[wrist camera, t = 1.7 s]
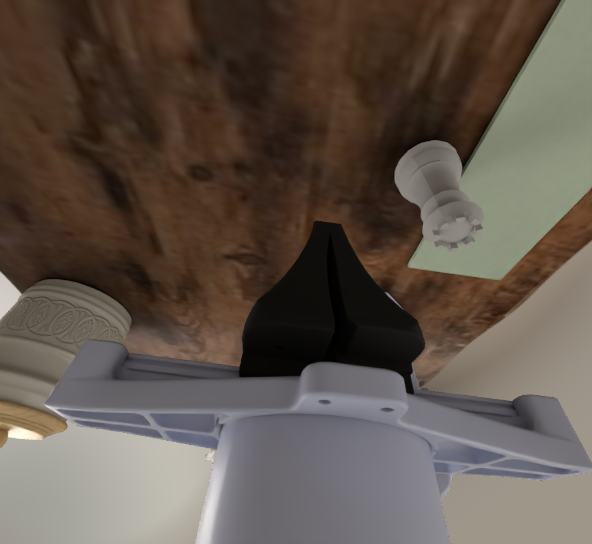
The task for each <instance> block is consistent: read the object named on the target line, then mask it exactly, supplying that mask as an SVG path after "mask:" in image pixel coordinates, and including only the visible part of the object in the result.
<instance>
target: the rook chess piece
mask: <svg viewBox="0 0 592 544" xmlns="http://www.w3.org/2000/svg"><path fill="white" fill-rule="evenodd" d="M461 172H462V164H461V161H460V158H459V155H457V152H456V149H455V148H453V147H452V146H451V145H450V144H449V143H447V142H442V141H437V140H433V141H428V142H423V143H420V144H418V145H417V146H415V147H413V148H412V149H410V150H408V152H407V153H406V154H405V155H404V156H403V157H402V158H401V159H400V160H399V163H398V165H397V167H396V170H395V183H396V185H397V187H398V189H399V191H400V193H401V195H402V196H403V197H404V198H406V199H407V200H409V201H410V202H412V203H415V204H416V205H418V206H419V207H420V209H421V219H422V221H423V223H424V224H423V231H422V234H423V235H424V237H425V239H426V240H427V241H428V242H430V243H432V244H433V245H435V246H436V248H438V249H440V250H441V251H442V250H443V249H444V248H445V247H448V249H449V252H456V251H459V248H458V245H460V244H463V243H465V245H466V246H467V247H470V246H471V245H473V244H474V243H476V242H475V240H474V238H473V237H474V235H476V236H481V235H482V231H483V228H482V223H483V219H484V213H483V210H482V208H481V207H480V206H478V205H477V204H476V203H474V202H470V199H469V196H468V195H467V194H465V193H464V192H463V191H460V188H459V181H460V178H461Z"/></svg>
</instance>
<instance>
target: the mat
mask: <svg viewBox="0 0 592 544" xmlns="http://www.w3.org/2000/svg"><path fill="white" fill-rule="evenodd" d="M459 188H460V191H463V192H464V193H465V194H467V195H468V196H469V199H470V202H474V203H476V204H477V205H478V206H480V207H481V208H482V210H483V213H484V219H483V223H482V228H483V231H482V235H481V236H476V235H474V237H473V238H474V240H475V242H476V243H474V244H473V245H471V246H470V247H467V246H466V245H465V243H463V244H460V245H458V248H459V251H456V252H449V249H448V247H445V248H444V249H443V250H442V251H441V250H440V249H438V248H436V246H435V245H433V244H432V243H430V242H428V241H427V240H426V239H425V237H423V239H422V240H421V242H420V244H419V246H418V247H417V249H416V251H415V253H414V254H413V256H412V258H411V259H410V261H409V263H408V267H409V268H416V269H423V270H430V271H437V272H445V273H452V274H459V275H466V276H473V277H480V278H487V279H495V280H501V279H502V278H503V277H504V276H505V275H506V274H507V273H508V272H509V271H510V270H511V269H512V268H513V267H514V266H515V265H516V264H517V263H518V262H519V261H520V260H521V259H522V258H523V257H524V256H525V255H526V254H527V253H528V252H529V251H530V250H531V249H532V248H533V246H534V245H535V244H536V243H537V242H538V241H539V240H540V239H541V238H542V237H543V236H544V235H545V234H546V233H547V232H548V231H549V230H550V229H551V228H552V227H553V226H554V225H555V224H556V223H557V222H558V221H559V220H560V219H561V218H562V217H563V216H564V215H565V214H566V213H567V212H568V211H569V210H570V209H571V208H572V207H573V206H574V205H575V204H576V203H577V202H578V201H579V200H580V199H581V198H582V197H583V196H584V195H585V194H586V193H587V192H588V191H589V190H590V189H591V188H592V0H561V2H560V3H559V5H558V7H557V8H556V10H555V12H554V14H553V15H552V17H551V19H550V20H549V22H548V24H547V26H546V27H545V29H544V31H543V33H542V34H541V36H540V38H539V39H538V41H537V43H536V45H535V46H534V48H533V50H532V51H531V53H530V55H529V57H528V58H527V60H526V62H525V63H524V65H523V67H522V69H521V70H520V72H519V74H518V75H517V77H516V79H515V81H514V82H513V84H512V86H511V88H510V89H509V91H508V93H507V94H506V96H505V98H504V100H503V101H502V103H501V105H500V106H499V108H498V110H497V112H496V113H495V115H494V117H493V118H492V120H491V122H490V124H489V125H488V127H487V129H486V130H485V132H484V134H483V136H482V137H481V139H480V141H479V143H478V144H477V146H476V148H475V149H474V151H473V153H472V155H471V156H470V158H469V160H468V161H467V163H466V165H465V167H464V168H463V170H462V172H461V178H460V181H459Z"/></svg>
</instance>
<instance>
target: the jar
mask: <svg viewBox="0 0 592 544" xmlns="http://www.w3.org/2000/svg"><path fill="white" fill-rule="evenodd" d="M131 323H132V320H131V317H130V315H129V313H128V312H127V311H126V309H125V308H124V307H123V306H122V305H121V304H119V303H118V302H117V301H115V300H114V299H113V298H111V297H110V296H108V295H106V294H104V293H102V292H100V291H98V290H96V289H94V288H91V287H89V286H86V285H83V284H80V283H76V282H72V281H67V280H59V279H48V280H42V281H39V282H37V283H36V284H35V285H34V286H33V287H30V288H29V289H27V290H26V291H25V292H24V293H23V294H22V295H21V296H20V297H19V299H18V301H17V303H16V304H15V305H14V306H13V307H12V308H11V309H10V310H9V311H8V312H7V313H6V314H5V315H4V316H3V317H2V319H1V320H0V448H1V447H2V446H3V445H4V444H5V443H6V441H7V439H8V437H12V438H19V439H31V440H40V439H44V438H46V437H47V436H50V435H52V434H56V433H59V432H63V431H65V430H66V429H67V424H66V422H65V421H66V420H67V419H66V418H64V417H62V416H61V415H59V414H58V413H56V412H54V411H53V410H51V409H49V408H48V407H46V406H45V402H46V400H47V399H48V397H49V396H50V394H51V393H52V391H53V390H54V388H55V387H56V385H57V384H58V382H59V381H60V379H61V378H62V376H63V375H64V373H65V371H66V370H67V368H68V367H69V365H70V364H71V362H72V361H73V359H74V358H75V356H76V355H77V353H78V352H79V350H80V349H81V347H82V346H83V344H84V343H85V341H86V340H87V339H98V340H105V341H113V342H118V343H121V344H122V343H123V342H124V341H125V339H126V337H127V335H128V334H129V330H130V326H131Z"/></svg>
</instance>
